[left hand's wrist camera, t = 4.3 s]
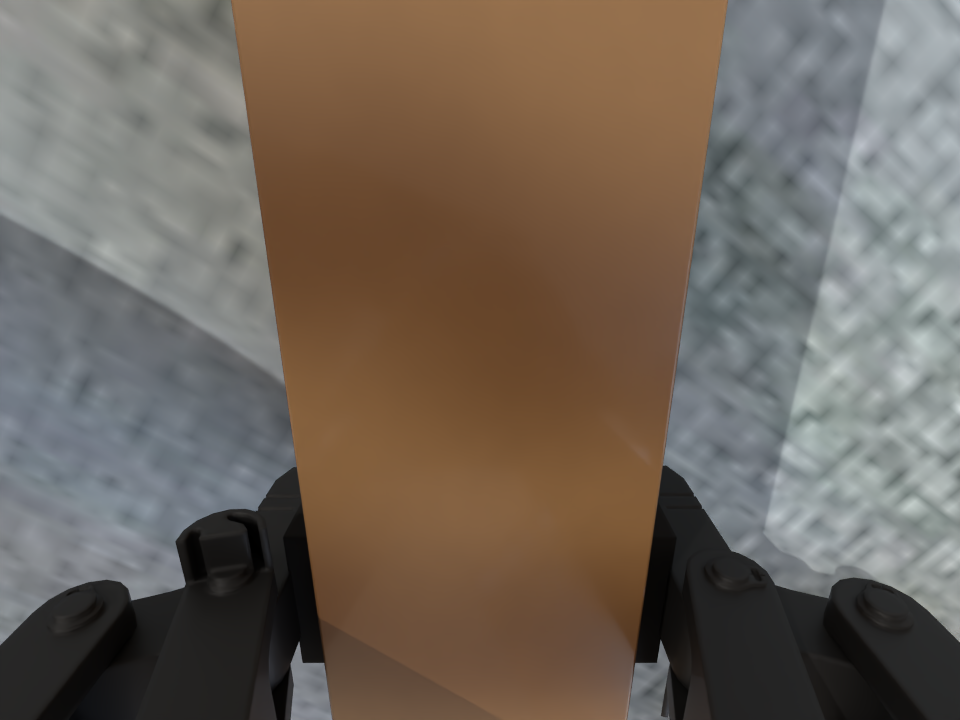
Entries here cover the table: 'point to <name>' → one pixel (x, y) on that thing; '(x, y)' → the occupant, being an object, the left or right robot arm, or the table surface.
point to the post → (479, 329)
